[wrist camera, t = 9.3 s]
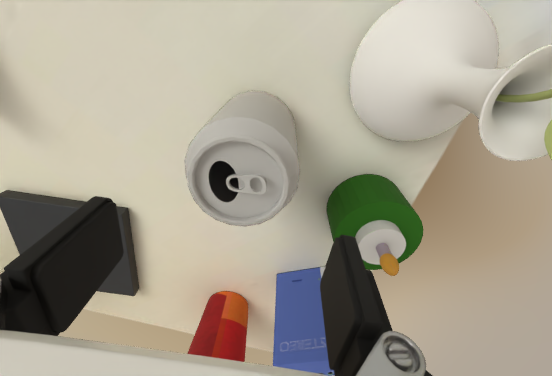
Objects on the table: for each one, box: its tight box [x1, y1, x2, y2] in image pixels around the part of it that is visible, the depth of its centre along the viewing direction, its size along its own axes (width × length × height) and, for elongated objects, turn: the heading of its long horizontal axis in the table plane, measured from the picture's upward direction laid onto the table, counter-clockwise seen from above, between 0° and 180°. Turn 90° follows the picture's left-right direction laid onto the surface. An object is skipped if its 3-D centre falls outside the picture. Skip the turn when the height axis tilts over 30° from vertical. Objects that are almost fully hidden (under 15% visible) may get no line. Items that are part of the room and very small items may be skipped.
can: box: [185, 90, 300, 226], centre depth 21 cm, size 8×8×12 cm
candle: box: [327, 174, 423, 276], centre depth 26 cm, size 8×8×10 cm
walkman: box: [273, 266, 335, 376], centre depth 31 cm, size 8×3×12 cm, turn 104°
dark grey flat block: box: [0, 190, 139, 296], centre depth 33 cm, size 14×14×3 cm
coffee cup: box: [188, 291, 248, 362], centre depth 33 cm, size 8×8×15 cm
